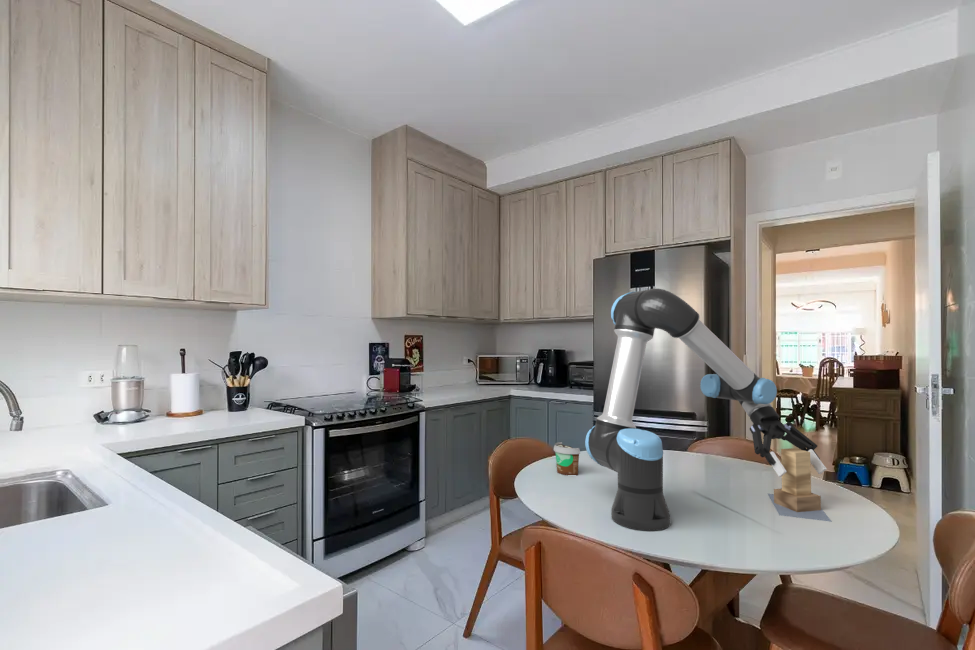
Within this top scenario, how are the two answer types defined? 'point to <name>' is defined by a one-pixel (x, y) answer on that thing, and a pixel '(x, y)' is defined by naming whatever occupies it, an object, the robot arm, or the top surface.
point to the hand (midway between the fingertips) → (803, 473)
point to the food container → (566, 459)
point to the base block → (797, 501)
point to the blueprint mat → (807, 515)
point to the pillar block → (796, 471)
